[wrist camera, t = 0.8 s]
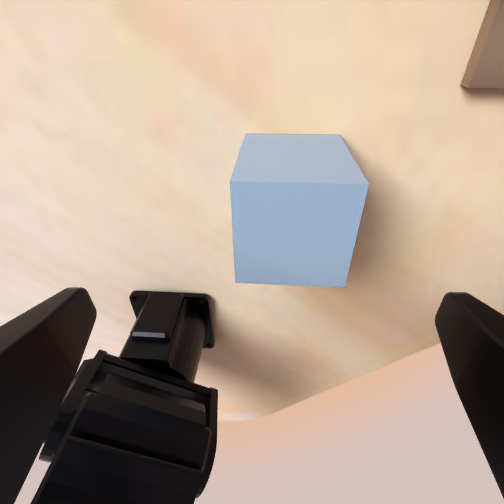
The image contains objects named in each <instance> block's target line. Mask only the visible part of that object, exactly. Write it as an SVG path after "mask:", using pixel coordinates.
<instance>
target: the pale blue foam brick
mask: <svg viewBox="0 0 504 504" xmlns="http://www.w3.org/2000/svg"><path fill="white" fill-rule="evenodd" d="M368 187H369V183H368V181H367V180H366V178H365V176H364V175H363V173H362V171H361V170H360V168H359V166H358V164H357V163H356V161H355V159H354V158H353V156H352V154H351V152H350V151H349V149H348V147H347V146H346V144H345V142H344V141H343V139H342V137H341V135H310V134H245V137H244V140H243V143H242V146H241V149H240V152H239V155H238V158H237V161H236V165H235V168H234V171H233V174H232V177H231V180H230V188H231V207H232V226H233V246H234V265H235V283H253V284H276V285H299V286H322V287H345V284H346V280H347V276H348V272H349V267H350V263H351V259H352V255H353V250H354V246H355V242H356V238H357V233H358V229H359V225H360V221H361V217H362V212H363V208H364V204H365V200H366V195H367V191H368Z"/></svg>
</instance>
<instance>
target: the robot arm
mask: <svg viewBox="0 0 504 504" xmlns="http://www.w3.org/2000/svg"><path fill="white" fill-rule="evenodd" d="M203 300H205V301H203ZM130 301H131V304H132V307H133V310H134V313H135V316H136V319H137V320H136V322H135V324H134V326H133V328H132V330H131V332H130V335H129V337H128V339H127V341H126V343H125V346H124V348H123V350H122V352H121V354H120V356H119V357H116V356H113V355H110V354H107V352H106V351H103V350H100V349H99V351H98V352H97V354H96V356H95V357H94V358H93V359H89V360H84V361H83V363H82V365H81V366H80V368H79V370H78V371H77V369H78V367H79V364H80V362H81V359H82V356H83V353H84V351H85V348H86V345H87V342H88V339H89V337H90V334H91V331H92V328H93V326H94V323H95V320H96V315H97V312H96V308H95V306H94V304H93V302H92V300H91V298H90V296H89V294H88V292H87V290H86V289H84V288H79V287H70V288H66V289H64V290H62V291H61V292H59V293H57V294H56V295H54V296H52V297H50V298H49V299H47V300H45V301H44V302H42V303H40V304H38V305H37V306H35V307H33V308H31V309H30V310H28V311H26V312H25V313H23V314H21V315H19V316H18V317H16V318H14V319H12V320H11V321H9V322H7V323H6V324H4V325H2V326H0V504H14V502H15V500H16V498H17V496H18V494H19V492H20V490H21V488H22V486H23V484H24V481H25V479H26V477H27V475H28V473H29V471H30V469H31V467H32V465H33V463H34V461H35V458H36V456H37V454H38V452H39V450H40V448H41V446H42V444H43V443H45V444H44V446H43V449H42V451H41V453H40V456H39V460H42V461H47V462H51V464H50V466H49V468H48V470H47V472H46V474H45V476H44V478H43V480H42V482H41V484H40V486H39V488H38V490H37V492H36V494H35V496H34V498H33V500H32V502H31V504H194V501H195V498H198V497H199V496H200V495H201V493H202V492H203V490H204V488H205V486H206V484H207V481H208V479H209V476H210V473H211V470H212V466H213V462H214V458H215V452H216V444H217V406H218V390H217V389H214V388H211V387H210V388H207V387H204V386H201V385H198V384H196V383H194V381H195V376H196V372H197V368H198V364H199V360H200V356H201V352H202V348H213V347H214V344H215V338H214V330H213V322H212V314H211V306H210V298H209V297H208V296H207V295H206V294H194V293H173V292H151V291H133V292H132V293H131V295H130ZM435 325H436V329H437V332H438V335H439V338H440V341H441V345H442V348H443V351H444V354H445V357H446V360H447V364H448V366H449V370H450V373H451V376H452V379H453V382H454V385H455V387H456V390H457V392H458V395H459V397H460V399H461V402H462V404H463V406H464V409H465V411H466V413H467V415H468V418H469V420H470V422H471V424H472V427H473V429H474V432H475V434H476V436H477V438H478V441H479V443H480V445H481V448H482V450H483V452H484V454H485V457H486V459H487V461H488V463H489V466H490V468H491V471H492V473H493V475H494V477H495V480H496V482H497V484H498V487H499V489H500V491H501V493H502V496H503V498H504V315H503V314H501V313H499V312H498V311H496V310H494V309H493V308H491V307H490V306H488V305H486V304H485V303H483V302H481V301H480V300H478V299H477V298H475V297H473V296H472V295H470V294H468V293H465V292H449V293H447V294H446V295H445V296H444V298H443V300H442V302H441V305H440V307H439V309H438V311H437V314H436V316H435ZM76 372H77V373H76ZM75 374H76V375H75Z"/></svg>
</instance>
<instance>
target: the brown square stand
mask: <svg viewBox="0 0 504 504" xmlns="http://www.w3.org/2000/svg"><path fill="white" fill-rule="evenodd" d="M460 86H464V87H467V88H504V0H491V1H490V3H489V6H488V9H487V12H486V15H485V17H484V20H483V23H482V26H481V29H480V32H479V34H478V37H477V40H476V43H475V46H474V49H473V51H472V54H471V57H470V60H469V63H468V66H467V68H466V71H465V74H464V77H463V80H462V83H461V85H460Z"/></svg>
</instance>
